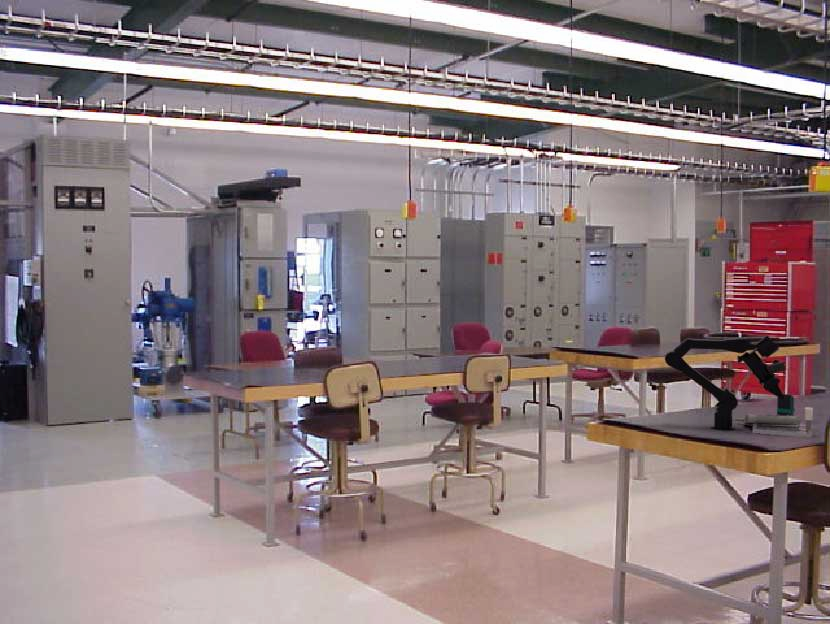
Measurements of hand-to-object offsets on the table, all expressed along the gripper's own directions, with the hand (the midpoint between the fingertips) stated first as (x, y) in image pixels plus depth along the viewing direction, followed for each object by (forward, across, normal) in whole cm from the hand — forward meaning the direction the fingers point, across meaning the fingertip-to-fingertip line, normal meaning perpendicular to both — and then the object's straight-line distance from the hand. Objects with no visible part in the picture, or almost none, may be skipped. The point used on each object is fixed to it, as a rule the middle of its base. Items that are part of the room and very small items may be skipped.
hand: (783, 398), depth 322 cm
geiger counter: (+6, +15, +12) cm, 20 cm away
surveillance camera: (+14, +25, +4) cm, 29 cm away
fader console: (+9, -4, +8) cm, 13 cm away
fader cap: (+13, -5, 0) cm, 14 cm away
